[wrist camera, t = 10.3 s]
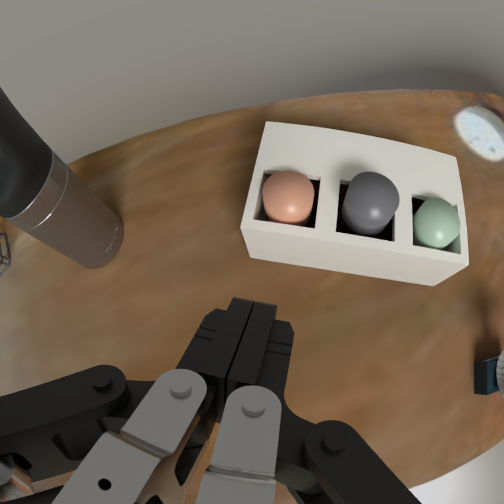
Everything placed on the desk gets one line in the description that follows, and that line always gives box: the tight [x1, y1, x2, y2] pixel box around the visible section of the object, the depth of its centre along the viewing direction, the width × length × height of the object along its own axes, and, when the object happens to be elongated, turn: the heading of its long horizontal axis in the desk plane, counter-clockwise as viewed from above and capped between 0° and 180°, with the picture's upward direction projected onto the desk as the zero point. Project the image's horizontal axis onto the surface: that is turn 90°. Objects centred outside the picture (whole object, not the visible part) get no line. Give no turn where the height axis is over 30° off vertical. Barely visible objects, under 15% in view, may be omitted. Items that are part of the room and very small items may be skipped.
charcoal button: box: [341, 171, 400, 236], centre depth 27 cm, size 5×5×4 cm
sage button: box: [412, 197, 460, 250], centre depth 28 cm, size 5×5×4 cm
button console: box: [240, 121, 469, 286], centre depth 34 cm, size 24×14×9 cm, turn 79°
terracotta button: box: [262, 170, 314, 227], centre depth 31 cm, size 5×5×4 cm
